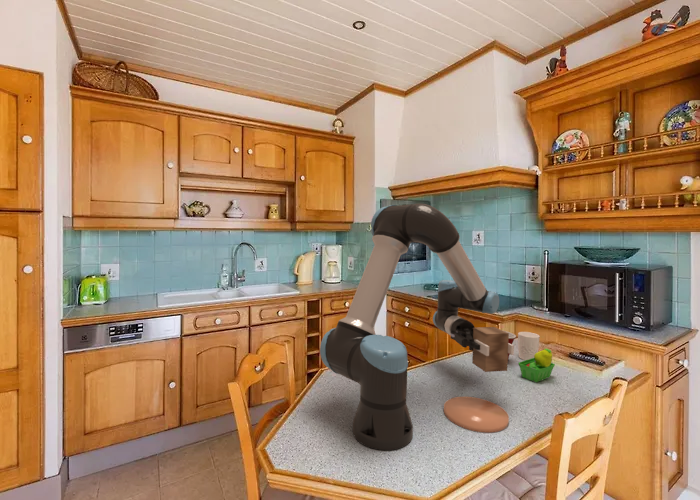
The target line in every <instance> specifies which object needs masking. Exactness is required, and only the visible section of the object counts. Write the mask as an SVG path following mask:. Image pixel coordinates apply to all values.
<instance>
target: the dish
mask: <svg viewBox="0 0 700 500" xmlns="http://www.w3.org/2000/svg"><path fill="white" fill-rule="evenodd" d="M443 414H444V415H445V417H446V418H447V420H449V421H450V422H451V423H453V424H454V425H456V426H459V427H461V428H462V429H465V430H468V431H472V432H478V433H485V434H486V433H487V434H488V433H498V432H501V431H504V430H505V429H507V428H508V427H509V424H510V423H509V422H510V417H509V413H508V412H507V411H506V410H505V409H504V408H503V407H502V406H500V405H499V404H497V403H495V402H492V401H490V400H488V399H484V398H480V397H474V396H455V397H451V398H449V399H447V400H446V401H445V402H444V404H443Z"/></svg>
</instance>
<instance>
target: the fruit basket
mask: <svg viewBox="0 0 700 500" xmlns="http://www.w3.org/2000/svg"><path fill="white" fill-rule="evenodd" d="M552 358H553V353H552V350H551V349H549V348H546V347H545V348H543V350H538V352H537V353H535V355H534V358H532V359H529V360H523V361H519V362H518V366H519V368H520V373H521V377H522V378H523V379H526V380H529V381H532V382H534V383H539V382H541V381H543V380H546V379H550V377H551V375H552V372H553V369H554V368H555V366H556V365H555V363H553V362H552V361H553V359H552Z"/></svg>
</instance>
